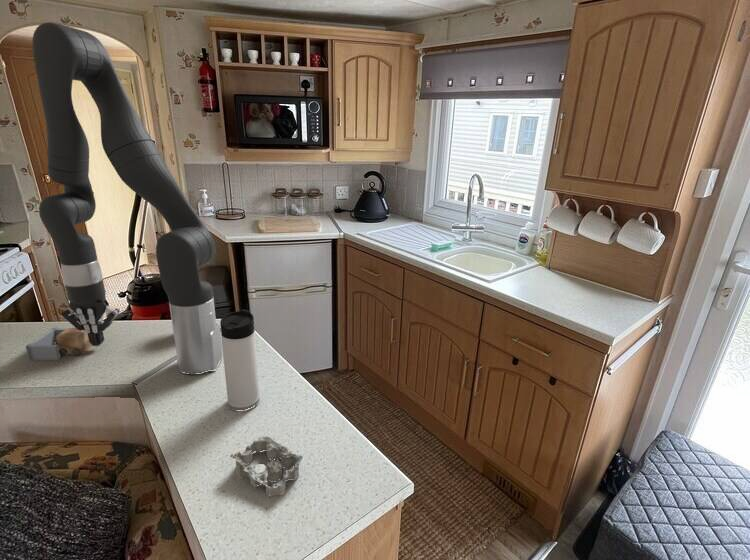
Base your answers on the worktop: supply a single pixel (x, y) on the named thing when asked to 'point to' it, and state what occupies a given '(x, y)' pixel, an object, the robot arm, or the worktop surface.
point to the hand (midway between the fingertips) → (97, 344)
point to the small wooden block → (73, 342)
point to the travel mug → (240, 359)
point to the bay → (45, 346)
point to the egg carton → (269, 464)
